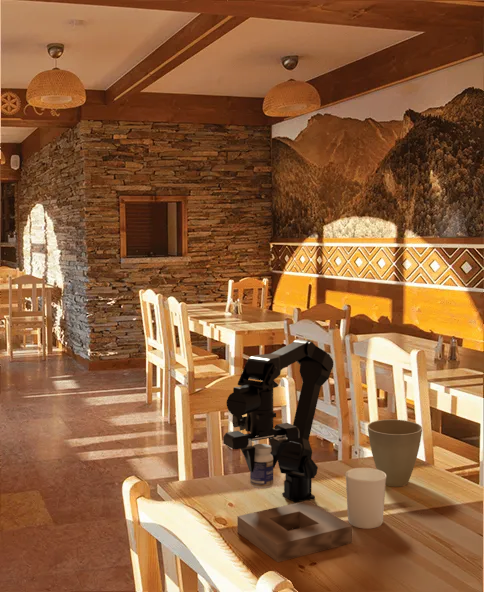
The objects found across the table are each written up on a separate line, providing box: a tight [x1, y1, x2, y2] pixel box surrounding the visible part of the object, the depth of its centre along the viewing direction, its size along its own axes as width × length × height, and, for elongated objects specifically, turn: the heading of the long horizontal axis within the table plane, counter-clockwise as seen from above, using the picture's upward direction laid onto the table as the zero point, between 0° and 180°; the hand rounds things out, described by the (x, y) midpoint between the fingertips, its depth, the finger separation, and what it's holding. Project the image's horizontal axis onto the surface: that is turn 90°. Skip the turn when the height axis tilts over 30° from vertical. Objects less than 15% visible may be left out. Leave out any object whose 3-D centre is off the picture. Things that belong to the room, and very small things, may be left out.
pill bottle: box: [249, 443, 274, 490], centre depth 193 cm, size 6×6×10 cm
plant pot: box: [367, 419, 423, 488], centre depth 217 cm, size 15×15×16 cm
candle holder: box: [345, 467, 387, 530], centre depth 190 cm, size 10×10×12 cm
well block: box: [236, 500, 353, 563], centre depth 182 cm, size 20×18×4 cm
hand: (261, 469), depth 193 cm, fingers closed on pill bottle, 6 cm apart
